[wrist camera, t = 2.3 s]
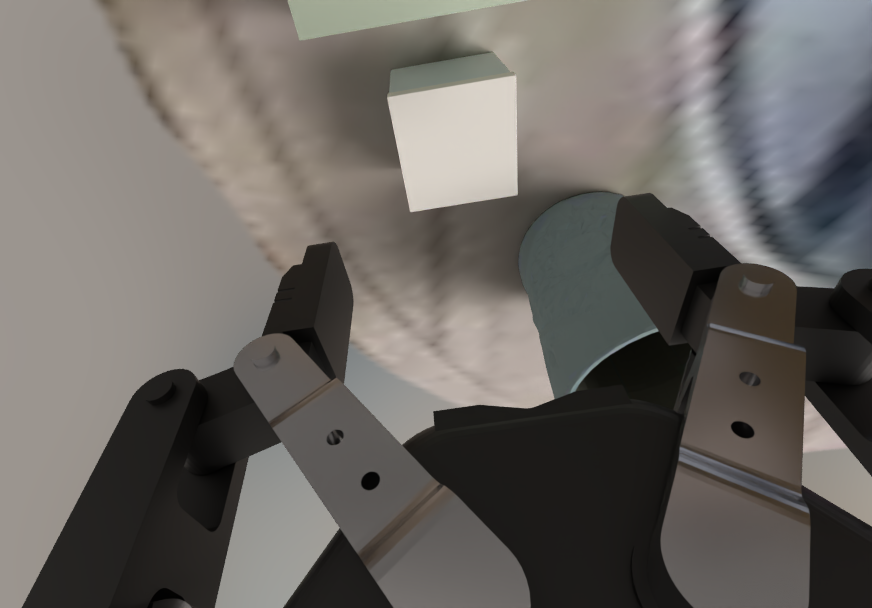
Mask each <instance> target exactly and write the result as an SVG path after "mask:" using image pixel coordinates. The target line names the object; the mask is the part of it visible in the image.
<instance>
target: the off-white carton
mask: <svg viewBox="0 0 872 608" xmlns="http://www.w3.org/2000/svg"><path fill="white" fill-rule="evenodd" d="M387 99H388V104H389V109H390V114H391V119H392V124H393V129H394V134H395V139H396V144H397V149H398V154H399V159H400V164H401V169H402V174H403V179H404V183H405V188H406V193H407V198H408V203H409V208H410V212H415V211H421V210H428V209H434V208H440V207H447V206H453V205H459V204H465V203H472V202H478V201H484V200H491V199H497V198H503V197H509V196H516V195H518V181H517V109H516V75H515V73H514V72H510V71H509V70H508V68H507V67H506V66H505V65H504V64H503V63H502V61H501V60H500V59H499V58H498V57H497V56H496V55H495V53H494V52H490V53H485V54H479V55H473V56H467V57H462V58H456V59H450V60H444V61H439V62H433V63H427V64H421V65H416V66H410V67H404V68H398V69H393V70H391V74H390V87H389V93H387Z"/></svg>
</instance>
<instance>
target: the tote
mask: <svg viewBox="0 0 872 608" xmlns="http://www.w3.org/2000/svg"><path fill="white" fill-rule="evenodd" d="M521 1H526V0H288V4H289V7H290V10H291V14H292V17H293V20H294V24H295V27H296V30H297V33H298V37H299V40H300V41H301V40H307V39H313V38H318V37H324V36H330V35H335V34H341V33H346V32H352V31H358V30H363V29H369V28H374V27H380V26H386V25H391V24H397V23H403V22H408V21H414V20H419V19H425V18H431V17H436V16H442V15H448V14H453V13H459V12H464V11H470V10H476V9H481V8H487V7H493V6H498V5H504V4H509V3H515V2H521Z"/></svg>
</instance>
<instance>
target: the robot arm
mask: <svg viewBox="0 0 872 608" xmlns="http://www.w3.org/2000/svg"><path fill="white" fill-rule="evenodd" d="M610 251H611V258H612V262H613V264H614V266H615V268H616V269H617V271H618V272H619V274H620V275H621V277H622V278H623V279H624V281H625V282H626V284H627V285H628V287H629V288H630V290H631V291H632V293H633V294H634V295H635V297H636V298H637V300H638V301H639V303H640V304H641V306H642V307H643V309H644V310H645V312H646V313H647V314H648V316H649V317H650V319H651V320H652V322H653V323H654V325H655V326H656V328H657V329H658V330H659V332H660V333H661V335H662V336H663V338H664V339H665V341H666V342H667V344H668V345H676V344H683V343H689V344H690V346H691V347H692V349H691V351H690V354H689V356H688V360H687V363H686V367H685V371H684V374H683V378H682V381H681V385H680V389H679V392H678V396H677V399H676V403H675V407H674V410H672V409H669V408H666V407H663V406H661V405H657V404H654V403H650V402H646V401H641V400H635V399H629V397H628V395H627V393H626V391H625V389H624V387H623V385H616V386H609V387H602V388H595V389H588V390H581V391H575V392H572V393H570V394H567V395H565V396H562V397H559V398H557V399H554V400H552V401H549V402H547V403H544V404H542V405H539V406H536V407H534V408H528V409H525V408H512V407H499V406H486V405H475V406H468V407H461V408H455V409H447V410H440V411H434V412H433V413H434V425H435V426H432V427H430V428H427V429H425V430H424V431H422V432H420V433H418V434H416V435H415V436H413V437H412V438H411V439H409V440H408V441H406V442H405V443H404V444H403V445H401V444H400V443H399V442H398V441H397V440H396V439H395V437H393V435H392V434H391V433H390V432H389V431H388V430H387V429H386V428H385V427H384V426H383V425H382V424H381V423H380V422H379V421H378V420H377V419H376V418H375V416H374V415H373V414H372V413H371V412H370V411H369V410H368V409H367V408H366V407H365V406H364V405H363V404H362V403H361V402H360V401H359V400H358V399H357V398H356V397H355V396H354V395H353V394H352V392H351V391H350V390H349V389H348V388H347V387H346V386H345V385H344V379H345V370H346V362H347V354H348V345H349V337H350V329H351V320H352V312H353V293H352V288H351V284H350V281H349V278H348V275H347V272H346V269H345V266H344V263H343V261H342V258H341V255H340V252H339V249H338V246H337V245H336V243H335V242H329V243H322V244H316V245H309V246H308V247H307V249H306V253H305V256H304V259H303V263H302V264H300V265H294V266H292V267H291V268H290V269H289V271H288V272H287V273H286V274H285V275H284V276H283V277H282V279H281V282H280V285H279V288H278V293H277V294H276V297H275V300H274V301H275V303H273V305H272V308H271V311H270V314H269V317H268V320H267V323H266V326H265V328H264V331H263V334H262V337H259V338H257V339H255V340H253V341H252V342H250V343H249V344H248V345H246V346H245V347H244V348H243V349H242V350H241V351H240V352H239V353H238V355H237V357H236V358H235V361H234V366H233V367H232V368H230V369H227V370H225V371H222V372H220V373H217V374H215V375H212V376H210V377H207V378H204V379H202V380H198V379H197V378H196V376H195V375H194V374H193V373H192V372H191V371H189V370H185V369H175V370H170V371H167V372H164V373H162V374H160V375H157V376H155V377H154V378H152V379H151V380H149V381H148V382H146V383H145V384H144V385H142V386H141V387H140V388H139V389H138V390H137V391H136V393H135V394H134V395H133V396H132V398H131V400H130V401H129V403H128V405H127V407H126V409H125V411H124V413H123V415H122V417H121V419H120V421H119V423H118V425H117V426H116V428H115V430H114V432H113V434H112V436H111V438H110V440H109V442H108V444H107V446H106V447H105V449H104V451H103V453H102V455H101V457H100V459H99V461H98V463H97V465H96V467H95V469H94V471H93V472H92V474H91V476H90V478H89V480H88V482H87V484H86V486H85V488H84V490H83V492H82V493H81V495H80V498H79V499H78V501H77V503H76V505H75V507H74V509H73V511H72V513H71V514H70V517H69V518H68V520H67V522H66V524H65V526H64V528H63V530H62V532H61V534H60V536H59V537H58V539H57V541H56V543H55V545H54V547H53V549H52V551H51V553H50V555H49V557H48V559H47V561H46V562H45V564H44V566H43V568H42V570H41V572H40V574H39V576H38V578H37V580H36V582H35V583H34V585H33V587H32V589H31V591H30V593H29V595H28V597H27V599H26V601H25V603H24V605H23V606H22V608H215V603H216V599H217V594H218V590H219V586H220V581H221V577H222V573H223V568H224V564H225V559H226V555H227V551H228V546H229V542H230V537H231V533H232V529H233V524H234V520H235V515H236V511H237V506H238V502H239V497H240V493H241V489H242V485H243V480H244V476H245V471H246V467H247V462H248V458H249V456H251V455H253V454H255V453H258V452H260V451H262V450H265V449H267V448H269V447H271V446H274V445H276V444H278V443H280V442H282V443H283V445H284V446H285V448H286V449H287V451H288V452H289V454H290V455H291V456H292V458H293V459H294V461H295V462H296V464H297V465H298V467H299V468H300V470H301V471H302V473H303V474H304V476H305V477H306V479H307V480H308V482H309V483H310V485H311V486H312V488H313V489H314V490H315V492H316V493H317V495H318V496H319V498H320V499H321V501H322V502H323V504H324V505H325V507H326V508H327V510H328V511H329V513H330V514H331V515H332V517H333V519H334V520H335V522H336V523H337V524H338V526H339V527H340V528H339V530H338V531H337V533H336V534H335V536H334V537H333V538H332V540H331V541H330V543H329V544H328V545H327V547H326V548H325V550H324V551H323V553H322V554H321V555H320V557H319V558H318V559H317V561H316V562H315V564H314V565H313V566H312V568H311V570H310V571H309V572H308V574H307V575H306V576H305V578H304V579H303V581H302V582H301V584H300V585H299V586H298V588H297V589H296V590H295V592H294V593H293V595H292V596H291V597H290V599H289V600H288V602H287V603H286V605H285V606H284V607H283V608H872V527H871V526H870V525H868V524H866V523H865V522H863V521H861V520H860V519H858V518H856V517H855V516H853V515H851V514H850V513H848V512H846V511H845V510H843V509H841V508H840V507H838V506H836V505H834V504H833V503H831V502H829V501H828V500H826V499H824V498H823V497H821V496H819V495H818V494H816V493H814V492H812V491H811V490H809V489H808V488H806V487H804V486H803V485H802V457H803V428H804V400H805V396H806V398H807V399H808V400H809V401H810V402H811V404H812V405H813V406H814V407H815V408H816V410H817V411H818V412H819V413H820V414H821V416H822V417H823V418H824V419H825V421H826V422H827V423H828V424H829V425H830V427H831V428H832V429H833V430H834V431H835V433H836V434H837V435H838V436H839V437H840V439H841V440H842V441H843V442H844V443H845V445H846V446H847V447H848V448H849V450H850V451H851V452H852V453H853V454H854V455H855V457H856V458H857V459H858V460H859V461H860V463H861V464H862V465H863V466H864V468H865V469H866V470H867V471H868V472H869V473H870V475H871V476H872V269H857V270H852V271H849V272H847V273H845V274H844V275H843V276H842V277H841V279H840V280H839V282H838V284H837V285H836V287H835V289H833V288H815V287H798V286H796V285H795V283H794V282H793V280H792V279H790V278H789V277H788V276H787V275H785V274H784V273H782V272H780V271H778V270H776V269H773V268H770V267H767V266H763V265H758V264H749V263H742V264H741V263H740V262H739V261H738V260H737V259H736V258H735V257H734V256H733V255H732V254H730V253H729V252H728V251H727V250H726V249H725V248H724V247H723V246H722V245H721V244H719V243H718V242H717V241H716V240H715V239H714V238H713V237H710V234H709V233H707V232H706V231H705V230H704V229H703V228H700V225H699V224H698V223H696V222H695V221H694V220H693V219H692V218H691V217H690V216H689V215H687V214H684V213H682V212H680V211H678V210H675V209H673V208H667V207H665V206H664V205H663V204H662V203H661V202H660V201H659V200H658V199H657V198H656V197H655V196H654V195H653V194H651V193H646V194H639V195H633V196H626V197H622V198H620V199H619V201H618V204H617V208H616V215H615V221H614V227H613V233H612V239H611V247H610Z"/></svg>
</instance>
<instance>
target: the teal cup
mask: <svg viewBox="0 0 872 608" xmlns="http://www.w3.org/2000/svg"><path fill="white" fill-rule="evenodd" d="M622 197H624V196H623V195H621V194H612V193H610V192H606V193H604V192H592V193H585V194H580V195H578V196H575V197H570V198H568V199H567V200H563V201H561V202H559V203H556V204H555V205H553V206H552V207H550V208H549V209H547V210H546V211H545V212H544V213H543V214H542V215H540V216H539V218H538V219H537V220H536V221H535V222H534V223H533V224H532V225H531V227H530V228H529V230H528V231H527V233H526V234H525V236H524V239H523V241H522V244H521V247H520V251H519V262H518V266H519V272H520V276H521V280H522V283H523V286H524V288H525V290H526V292H527V294H528V297H529V301H530V306H531V310H532V314H533V321H534V324H535V326H536V327H537V329H538V332H539V338H540V342H541V345H542V350H543V355H544V359H545V364H546V368H547V373H548V376H549V380H550V383H551V387H552V390H553V394H554V398H555V399H557V398H559V397H562V396H565V395H567V394H570V393H572V392H575V391H581V390H588V389H595V388H602V387H609V386H616V385H623V387H624V389H625V391H626V393H627V395H628V397H629V399H635V400H641V401H646V402H650V403H654V404H657V405H661V406H663V407H666V408H669V409H672V410H674V407H675V403H676V399H677V396H678V392H679V389H680V385H681V381H682V378H683V374H684V371H685V367H686V363H687V360H688V356H689V354H690V351H691V349H692V347H691V346H690V344H689V343H683V344H676V345H668V344H667V342H666V341H665V339H664V338H663V336H662V335H661V333H660V332H659V330H658V329H657V328H656V326H655V325H654V323H653V322H652V320H651V319H650V317H649V316H648V314H647V313H646V312H645V310H644V309H643V307H642V306H641V304H640V303H639V301H638V300H637V298H636V297H635V295H634V294H633V293H632V291H631V290H630V288H629V287H628V285H627V284H626V282H625V281H624V279H623V278H622V277H621V275H620V274H619V272H618V271H617V269H616V268H615V266H614V264H613V262H612V258H611V251H610V247H611V239H612V233H613V227H614V221H615V215H616V208H617V204H618V201H619V199H620V198H622Z"/></svg>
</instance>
